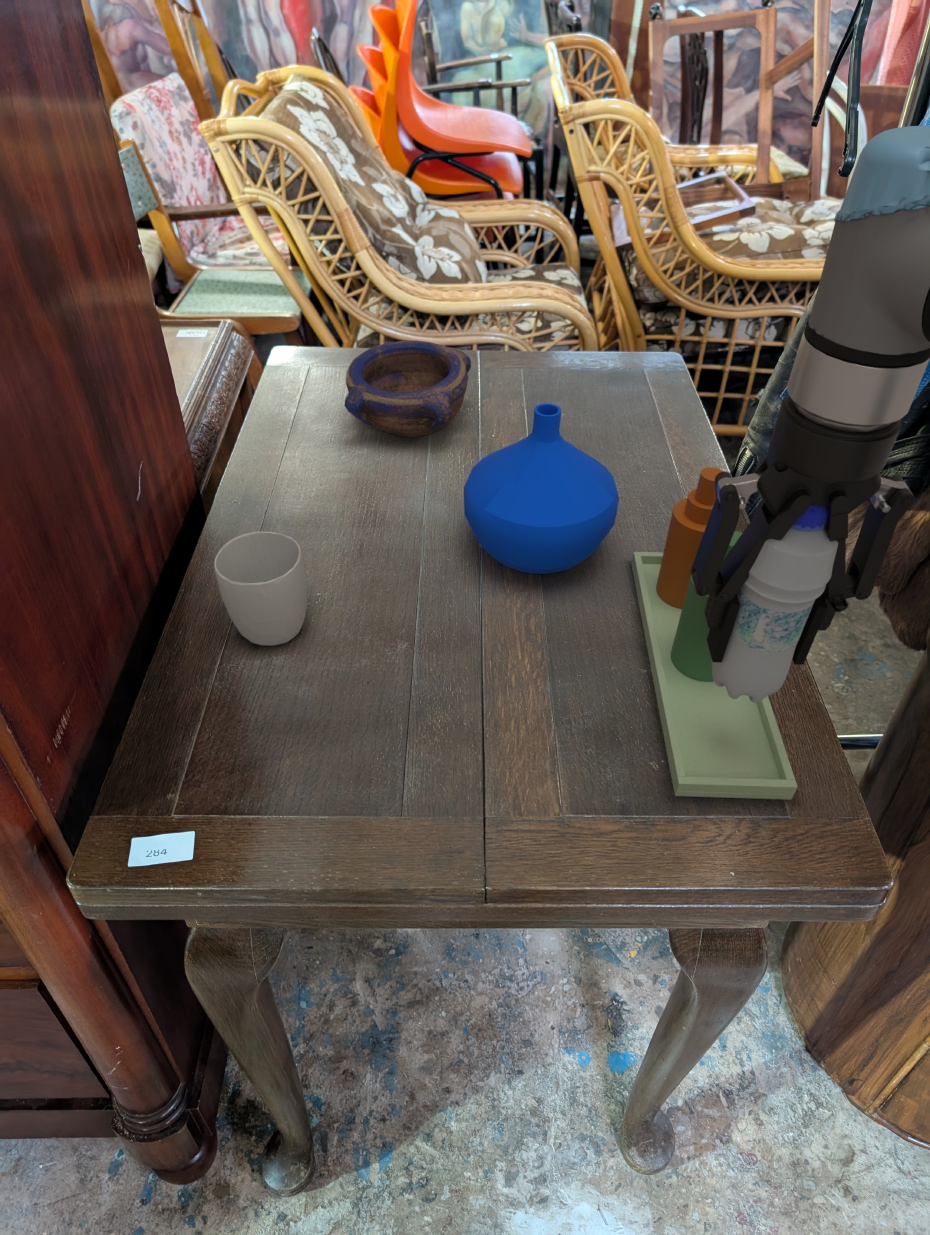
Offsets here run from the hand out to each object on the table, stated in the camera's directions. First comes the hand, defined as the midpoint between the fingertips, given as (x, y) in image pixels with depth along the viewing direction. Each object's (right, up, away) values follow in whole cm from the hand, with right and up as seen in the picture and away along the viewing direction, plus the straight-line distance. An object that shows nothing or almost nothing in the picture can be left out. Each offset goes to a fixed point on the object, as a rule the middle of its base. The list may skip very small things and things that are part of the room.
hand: (754, 651), depth 68 cm
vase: (-16, +11, +32) cm, 37 cm away
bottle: (0, -3, +3) cm, 4 cm away
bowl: (-33, +32, +54) cm, 71 cm away
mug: (-46, +3, +23) cm, 52 cm away
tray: (0, -2, +17) cm, 17 cm away
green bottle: (0, -2, +16) cm, 17 cm away
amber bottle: (+1, +6, +25) cm, 25 cm away
